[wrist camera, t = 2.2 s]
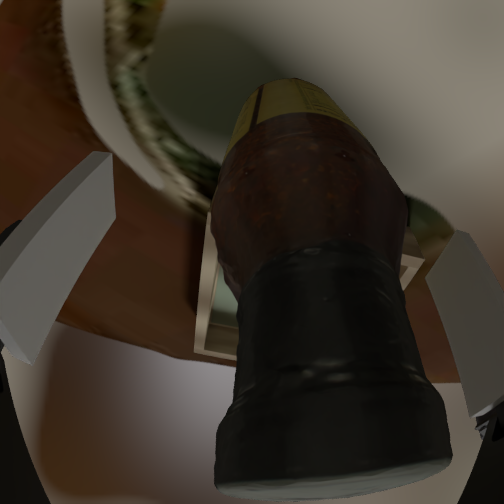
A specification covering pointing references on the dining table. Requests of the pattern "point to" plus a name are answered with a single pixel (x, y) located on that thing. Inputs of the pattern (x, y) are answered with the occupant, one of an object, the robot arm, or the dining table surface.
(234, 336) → the box
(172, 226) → the dining table surface
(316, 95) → the sauce bottle
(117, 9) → the dining table surface
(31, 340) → the robot arm
